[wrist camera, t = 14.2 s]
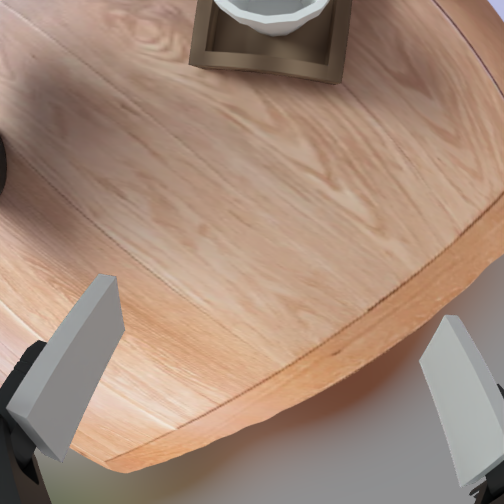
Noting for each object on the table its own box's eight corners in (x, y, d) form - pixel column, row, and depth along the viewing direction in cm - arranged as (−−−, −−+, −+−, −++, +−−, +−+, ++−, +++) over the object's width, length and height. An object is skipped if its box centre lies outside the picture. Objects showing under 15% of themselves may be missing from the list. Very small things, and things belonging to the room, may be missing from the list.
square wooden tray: (199, 68, 31) (188, 64, 27) (216, -43, 24) (208, -57, 20) (334, 84, 31) (341, 83, 27) (348, -28, 24) (355, -42, 20)
